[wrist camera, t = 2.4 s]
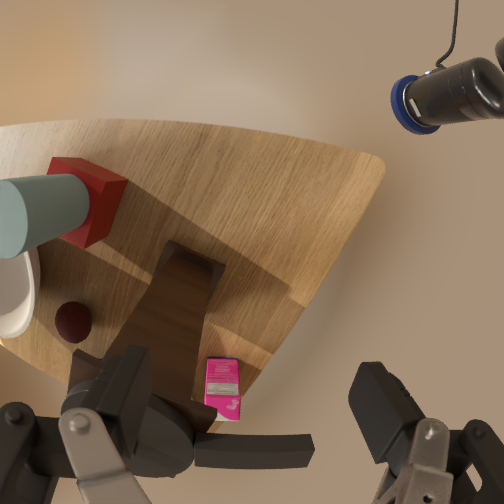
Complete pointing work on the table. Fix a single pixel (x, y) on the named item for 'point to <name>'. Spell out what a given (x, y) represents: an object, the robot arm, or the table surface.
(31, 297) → the bowl
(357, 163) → the table surface
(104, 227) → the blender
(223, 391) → the supplement box
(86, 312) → the dark red rounded piece
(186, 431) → the lid
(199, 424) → the stand
